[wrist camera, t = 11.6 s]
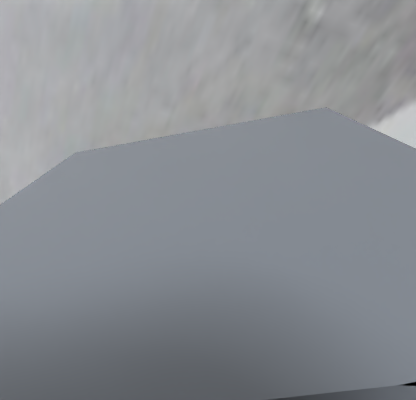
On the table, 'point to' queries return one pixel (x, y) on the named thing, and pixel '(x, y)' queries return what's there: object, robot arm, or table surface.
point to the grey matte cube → (216, 268)
